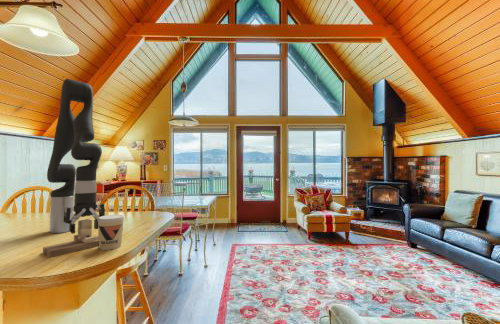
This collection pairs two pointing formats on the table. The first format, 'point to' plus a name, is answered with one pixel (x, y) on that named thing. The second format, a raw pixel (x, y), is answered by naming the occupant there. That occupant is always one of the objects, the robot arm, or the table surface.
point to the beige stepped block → (84, 231)
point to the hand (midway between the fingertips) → (84, 230)
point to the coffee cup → (110, 231)
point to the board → (69, 247)
